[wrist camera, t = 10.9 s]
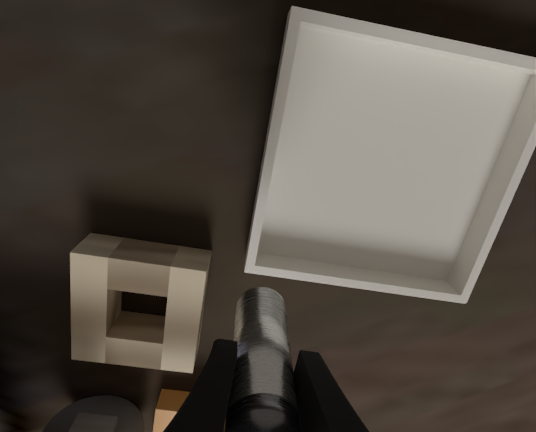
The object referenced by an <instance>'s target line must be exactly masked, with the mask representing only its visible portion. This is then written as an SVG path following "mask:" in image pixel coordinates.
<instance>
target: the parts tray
mask: <svg viewBox="0 0 536 432" xmlns="http://www.w3.org/2000/svg"><path fill="white" fill-rule="evenodd" d="M535 146H536V57H531V56H526V55H522V54H517V53H512V52H507V51H503V50H498V49H493V48H489V47H484V46H479V45H474V44H470V43H465V42H460V41H456V40H451V39H446V38H442V37H437V36H432V35H427V34H423V33H418V32H413V31H409V30H404V29H399V28H394V27H390V26H385V25H380V24H376V23H371V22H366V21H362V20H357V19H352V18H347V17H343V16H338V15H333V14H329V13H324V12H319V11H314V10H310V9H305V8H300V7H296V6H291V8H290V10H289V12H288V16H287V22H286V28H285V33H284V39H283V45H282V50H281V56H280V62H279V67H278V73H277V79H276V84H275V90H274V96H273V101H272V107H271V113H270V118H269V124H268V130H267V135H266V141H265V147H264V152H263V158H262V164H261V169H260V175H259V181H258V186H257V192H256V198H255V203H254V209H253V215H252V220H251V226H250V232H249V237H248V243H247V249H246V254H245V269H244V272H246V273H253V274H260V275H267V276H274V277H281V278H288V279H295V280H302V281H309V282H316V283H323V284H330V285H337V286H344V287H351V288H358V289H365V290H372V291H379V292H386V293H393V294H400V295H407V296H414V297H421V298H428V299H435V300H442V301H450V302H457V303H464V304H466V303H467V301H468V299H469V296H470V294H471V292H472V290H473V287H474V285H475V283H476V280H477V278H478V276H479V274H480V271H481V269H482V267H483V265H484V262H485V260H486V258H487V255H488V253H489V251H490V249H491V246H492V244H493V242H494V240H495V237H496V235H497V233H498V230H499V228H500V226H501V224H502V221H503V219H504V217H505V215H506V212H507V210H508V208H509V205H510V203H511V201H512V199H513V196H514V194H515V192H516V190H517V187H518V185H519V183H520V180H521V178H522V176H523V174H524V171H525V169H526V167H527V165H528V162H529V160H530V158H531V155H532V153H533V151H534V149H535Z"/></svg>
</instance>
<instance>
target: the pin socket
mask: <svg viewBox="0 0 536 432" xmlns="http://www.w3.org/2000/svg"><path fill="white" fill-rule="evenodd" d="M211 254H212V250H205V249H198V248H191V247H184V246H178V245H171V244H164V243H157V242H150V241H144V240H137V239H130V238H123V237H116V236H109V235H103V234H96V233H90V234H89V235H88V236H87V237H86V238H85V239H84V240H83V241H81V242H80V243H79V244H78V245H77V246H76V247H75V248H74V249H73V250H72V251H71V252H70V292H71V359H72V360H81V361H90V362H98V363H107V364H116V365H124V366H133V367H142V368H150V369H159V370H168V371H176V372H185V373H193V370H194V365H195V360H196V356H197V351H198V346H199V340H200V333H201V326H202V318H203V311H204V304H205V297H206V290H207V283H208V275H209V268H210V261H211ZM122 291H125V292H133V293H140V294H148V295H155V296H163V297H167V307H166V316H160V315H152V314H144V313H137V312H129V311H121V302H122Z"/></svg>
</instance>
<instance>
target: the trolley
mask: <svg viewBox="0 0 536 432" xmlns="http://www.w3.org/2000/svg"><path fill="white" fill-rule="evenodd" d="M144 429H145V428H144V420H143V417H142V414H141V412H140V411H139V409H138V408H137V407H136V406H135V405H134V404H133V403H132V402H130V401H128V400H126V399H124V398H121V397H118V396H113V395H98V396H92V397H88V398H85V399H82V400H79V401H77V402H74V403H73V404H71V405H69V406H67V407H66V408H64V409H63V410H61V411H60V412H59V413H58V414H56V415H55V416H54V417H53V418H52V419H51V420H50V422H49V423H48V424H47V425H46V427H45V428H44V430H43V432H144Z"/></svg>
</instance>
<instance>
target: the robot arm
mask: <svg viewBox="0 0 536 432" xmlns="http://www.w3.org/2000/svg"><path fill="white" fill-rule="evenodd" d="M237 350H238V341H231V340H224V339H217V340H215V341H214V344H213V348H212V351H211V353H210V356H209V358H208V360H207V362H206V365H205V367H204V369H203V371H202V372H201V374H200V376H199V378H198V380H197V381H196V383H195V385H194V387H193V388H192V390H191V392H190V393H189V395H188V396H187V398H186V399H185V401H184V402H183V404H182V405H181V407H180V409H179V410H178V412H177V413H176V415H175V416H174V417H173V419H172V420H171V422H170V423H169V424H168V426H167V427H166V428H165V430H164V431H163V432H224V425H225V419H226V412H227V407H228V402H229V397H230V392H231V387H232V382H233V377H234V372H235V367H236V362H237ZM294 382H295V390H296V398H297V407H298V415H299V423H300V432H369V431H368V429H367V428H366V427H365V425H364V424H363V422H362V421H361V419H360V418H359V417H358V415H357V414H356V412H355V411H354V409H353V407H352V406H351V404H350V403H349V401H348V400H347V398H346V397H345V395H344V394H343V392H342V390H341V389H340V387H339V386H338V384H337V382H336V381H335V379H334V377H333V376H332V374H331V372H330V371H329V369H328V367H327V365H326V364H325V362H324V360H323V359H322V357H321V355H320V354H319V353H318V352H311V351H303V350H300V352H299V355H298V359H297V363H296V366H295V370H294Z"/></svg>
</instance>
